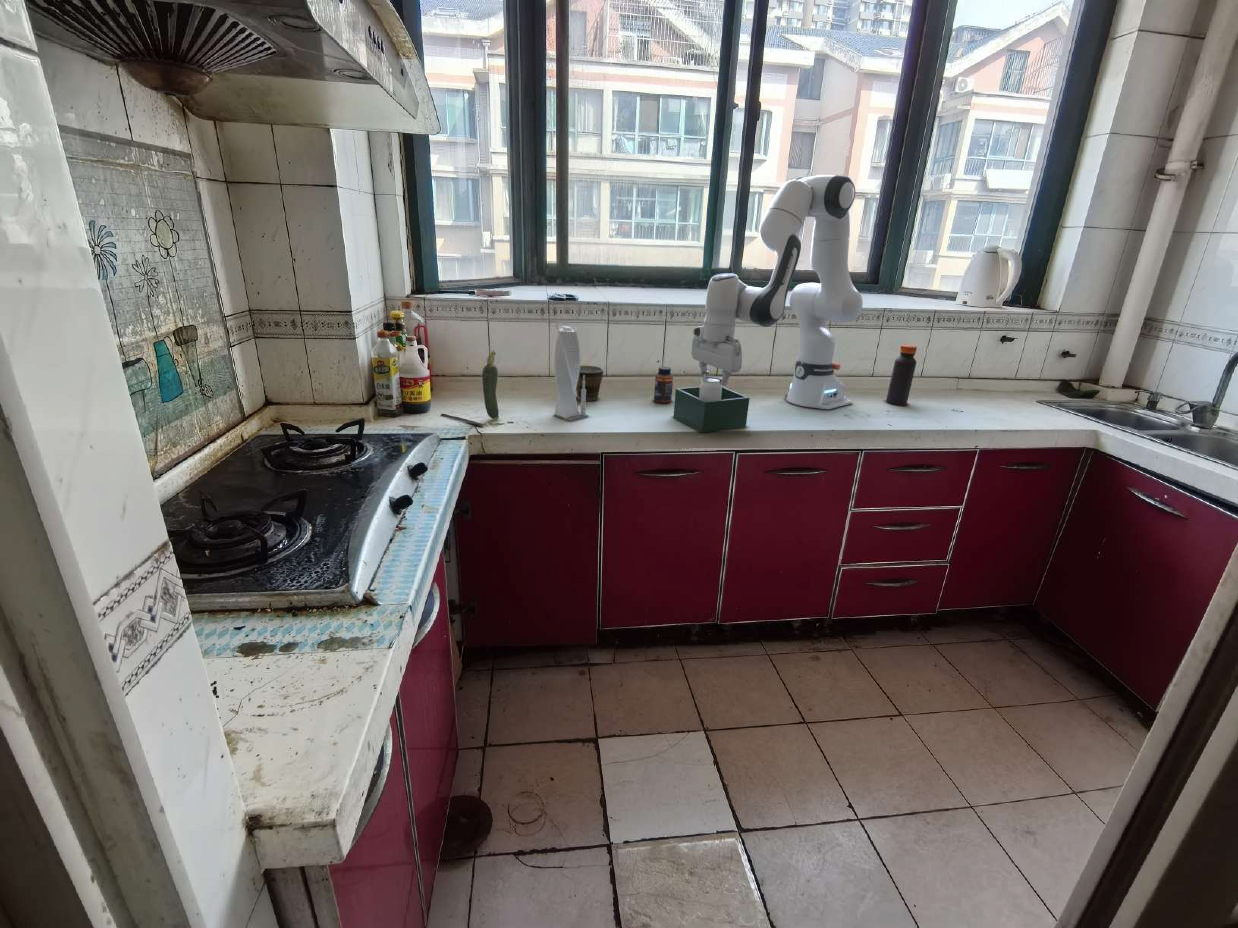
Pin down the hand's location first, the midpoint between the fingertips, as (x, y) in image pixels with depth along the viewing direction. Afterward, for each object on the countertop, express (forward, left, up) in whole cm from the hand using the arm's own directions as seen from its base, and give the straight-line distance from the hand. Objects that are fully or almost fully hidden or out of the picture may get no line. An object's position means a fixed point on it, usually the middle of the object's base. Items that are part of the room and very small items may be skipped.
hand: (713, 381), depth 173 cm
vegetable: (+60, -23, -13) cm, 66 cm away
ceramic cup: (+26, -34, -13) cm, 45 cm away
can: (0, 0, -12) cm, 12 cm away
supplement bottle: (+2, -24, -13) cm, 27 cm away
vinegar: (-77, +4, -13) cm, 78 cm away
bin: (0, 0, -13) cm, 13 cm away
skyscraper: (+38, -19, -13) cm, 44 cm away
